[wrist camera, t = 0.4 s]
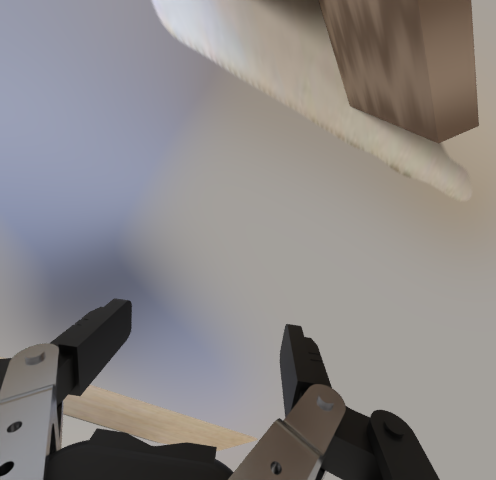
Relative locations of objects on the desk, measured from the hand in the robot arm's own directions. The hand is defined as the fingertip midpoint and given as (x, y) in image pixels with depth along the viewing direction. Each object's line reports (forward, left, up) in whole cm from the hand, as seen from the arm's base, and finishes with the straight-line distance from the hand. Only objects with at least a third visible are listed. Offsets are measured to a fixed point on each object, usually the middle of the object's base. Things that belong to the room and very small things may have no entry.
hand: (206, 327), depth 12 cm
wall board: (-7, +21, -31) cm, 38 cm away
